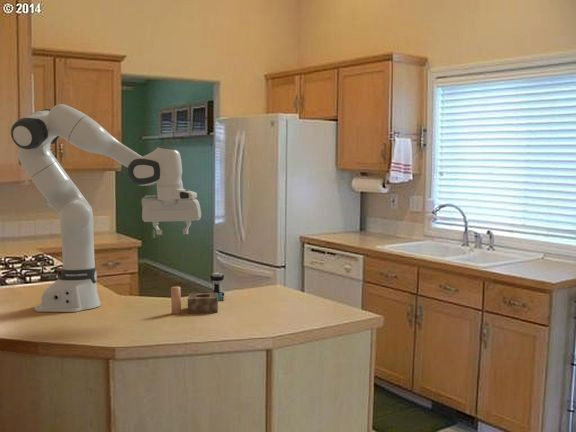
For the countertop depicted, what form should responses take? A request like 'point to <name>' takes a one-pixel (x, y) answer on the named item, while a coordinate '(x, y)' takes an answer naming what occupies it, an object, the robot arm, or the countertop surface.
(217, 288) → the push button
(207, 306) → the socket block
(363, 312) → the countertop surface
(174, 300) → the dowel
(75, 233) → the robot arm
